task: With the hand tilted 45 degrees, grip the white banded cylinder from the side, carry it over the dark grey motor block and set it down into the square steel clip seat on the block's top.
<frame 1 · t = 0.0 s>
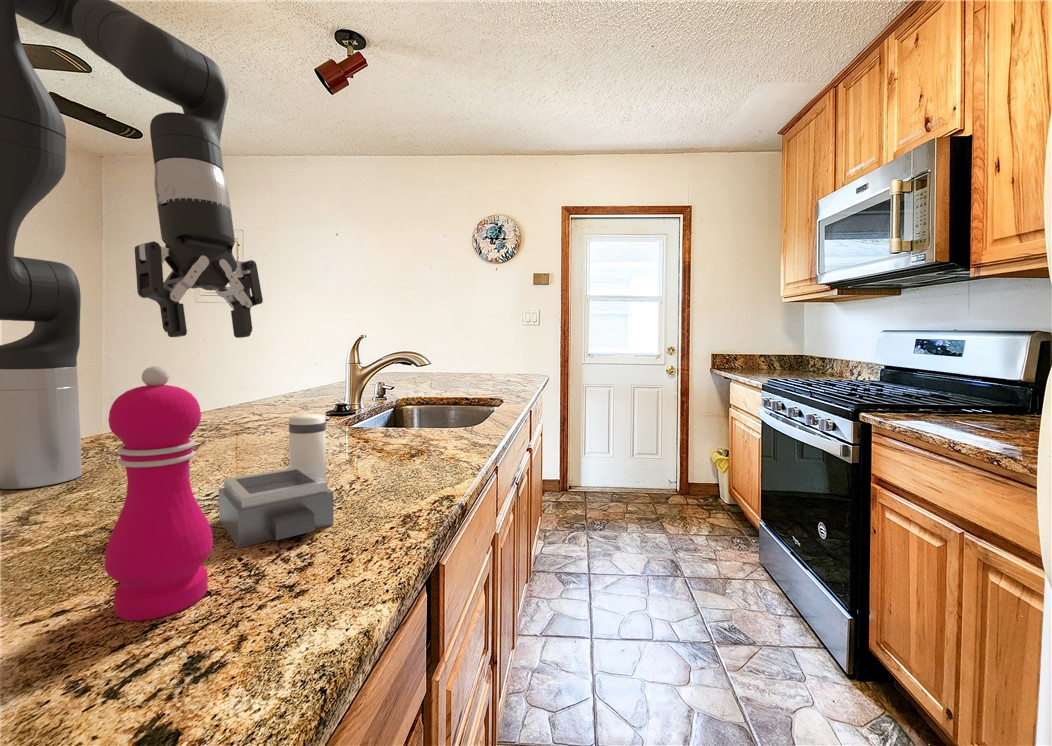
hand: (212, 336, 58), 22 cm above the countertop, tool pointing down, fingers open, 8 cm apart
toothbrush head: (171, 507, 63), on the countertop
white banded cylinder: (308, 490, 69), on the countertop
motor block: (276, 522, 57), on the countertop
pepper mill: (163, 602, 40), on the countertop
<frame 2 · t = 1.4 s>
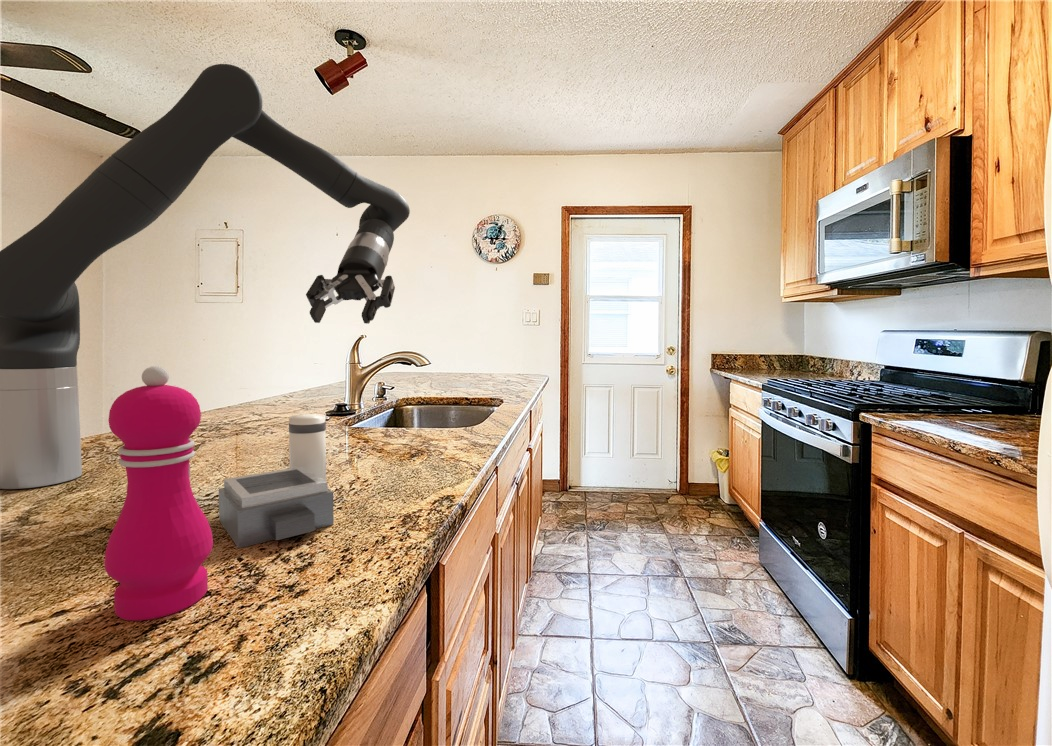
hand: (340, 319, 78), 26 cm above the countertop, tool tilted 45°, fingers open, 8 cm apart
nothing on the countertop moved.
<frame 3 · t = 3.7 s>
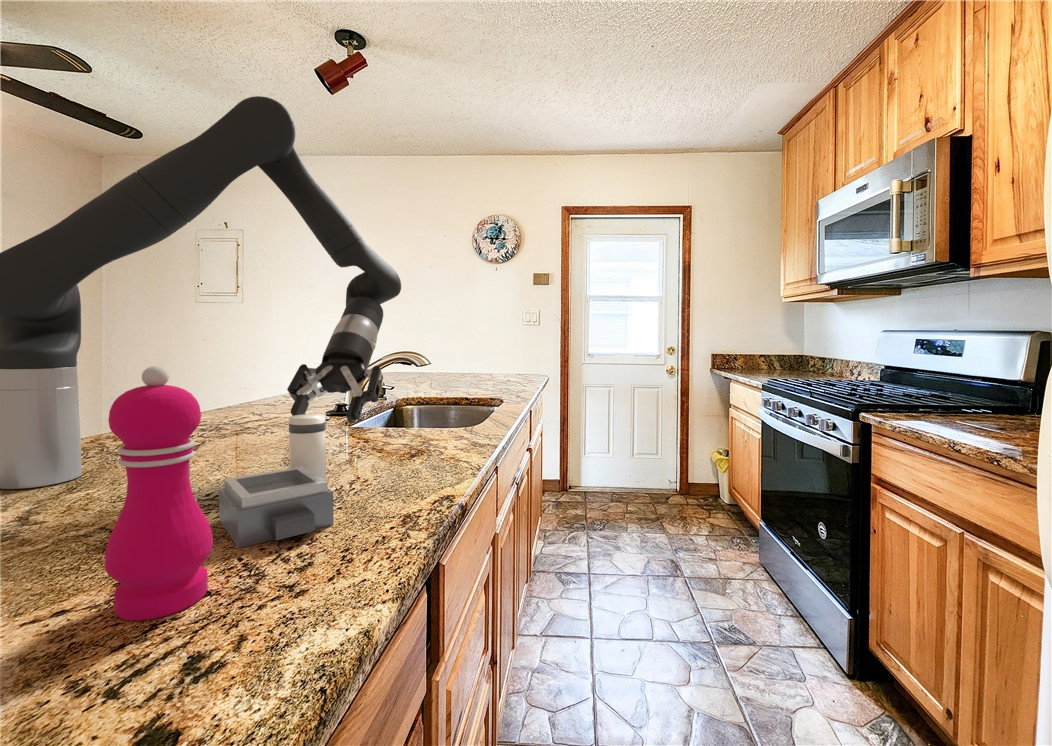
hand: (323, 419, 73), 10 cm above the countertop, tool tilted 45°, fingers open, 8 cm apart
nothing on the countertop moved.
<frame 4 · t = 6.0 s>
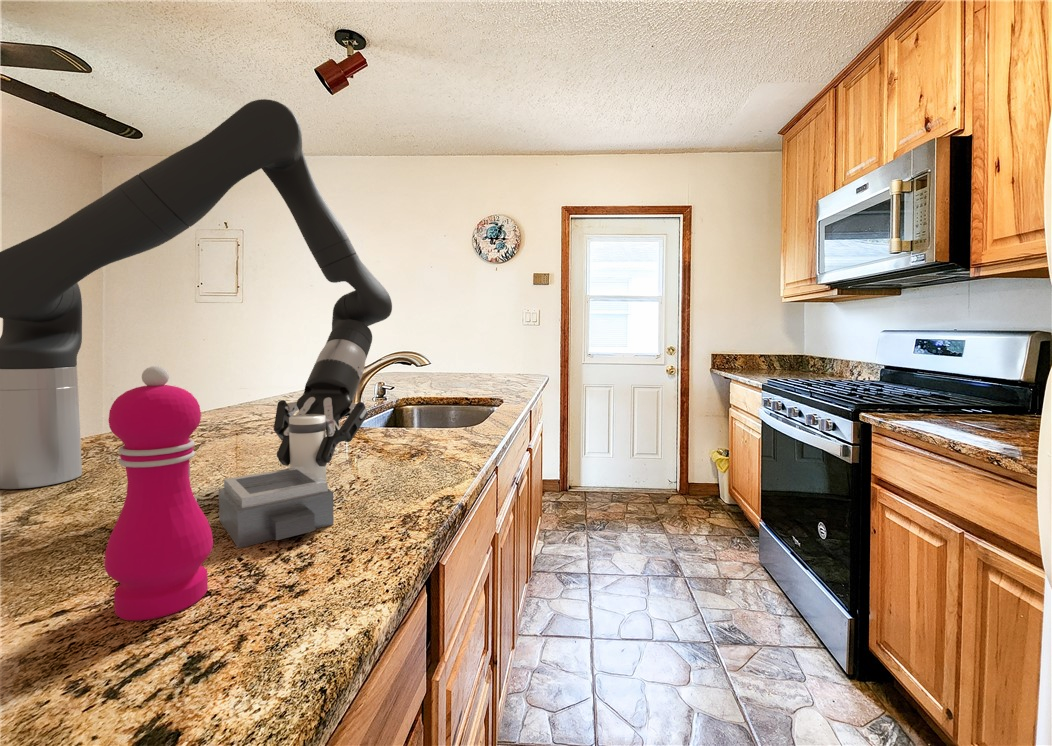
hand: (301, 462, 67), 5 cm above the countertop, tool tilted 45°, fingers closed on white banded cylinder, 4 cm apart
white banded cylinder: (308, 490, 69), on the countertop, touching gripper
everything else where it was.
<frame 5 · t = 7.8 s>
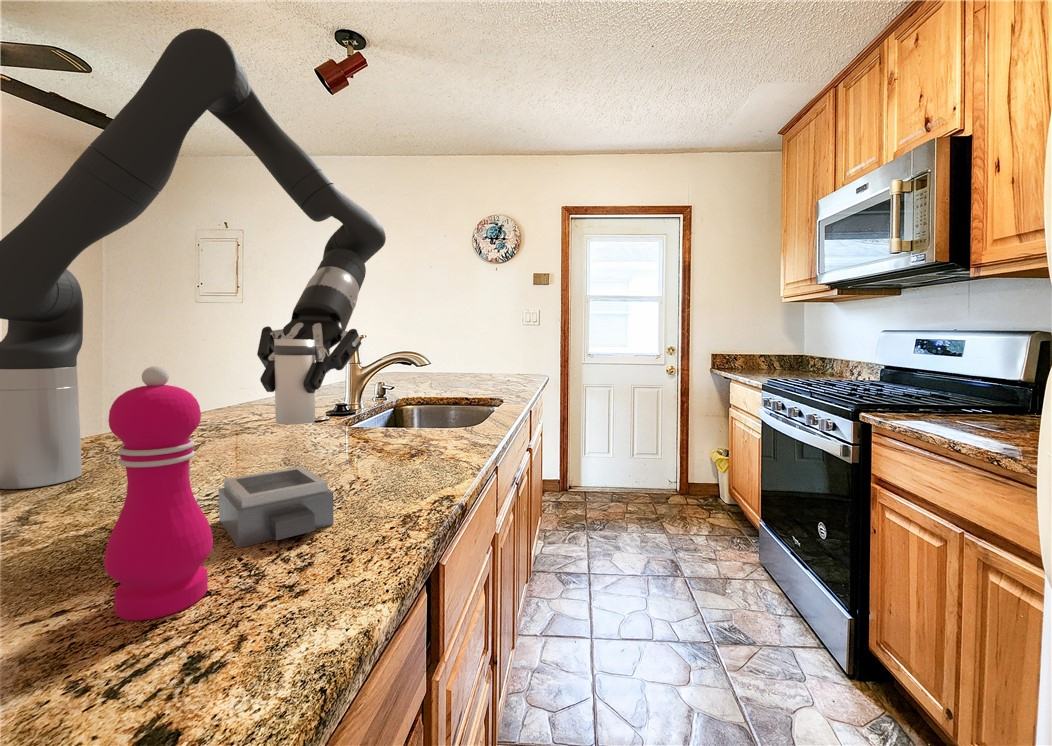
hand: (288, 388, 61), 16 cm above the countertop, tool tilted 45°, fingers closed on white banded cylinder, 4 cm apart
white banded cylinder: (295, 421, 63), point 11 cm above the countertop, touching gripper
everything else where it was.
when the fingers open (9 cm above the countertop, at t = 9.9 s): white banded cylinder stays where it is, resting on motor block.
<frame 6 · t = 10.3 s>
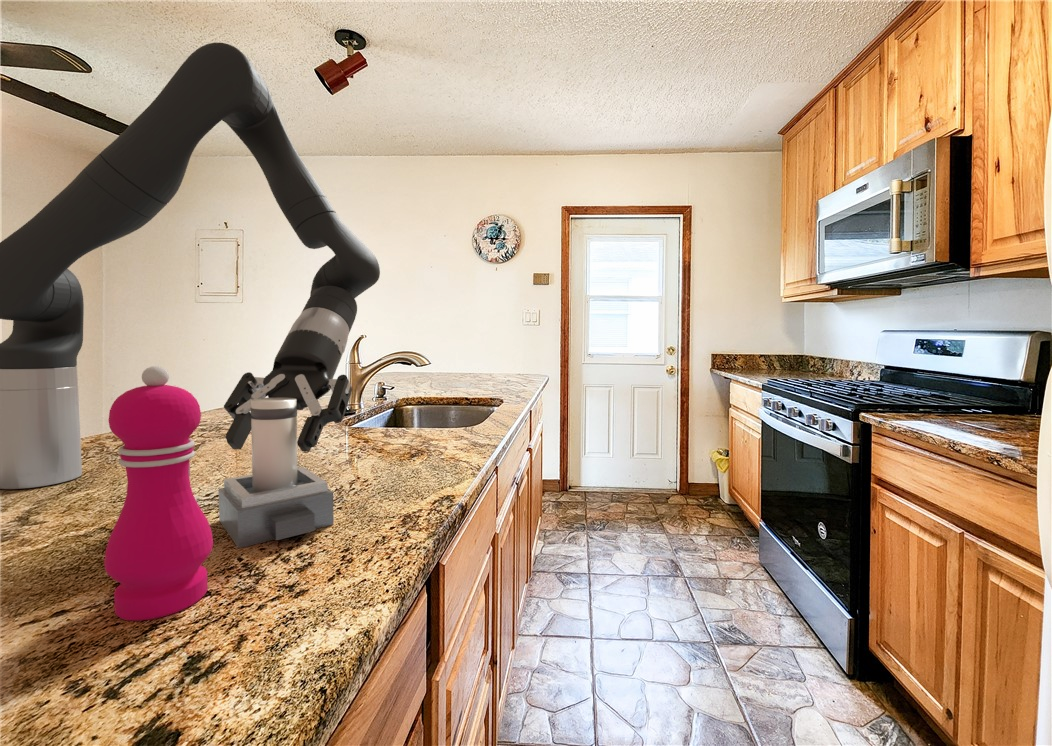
hand: (268, 447, 55), 10 cm above the countertop, tool tilted 45°, fingers open, 8 cm apart
white banded cylinder: (275, 490, 57), point 4 cm above the countertop, touching motor block
everything else where it was.
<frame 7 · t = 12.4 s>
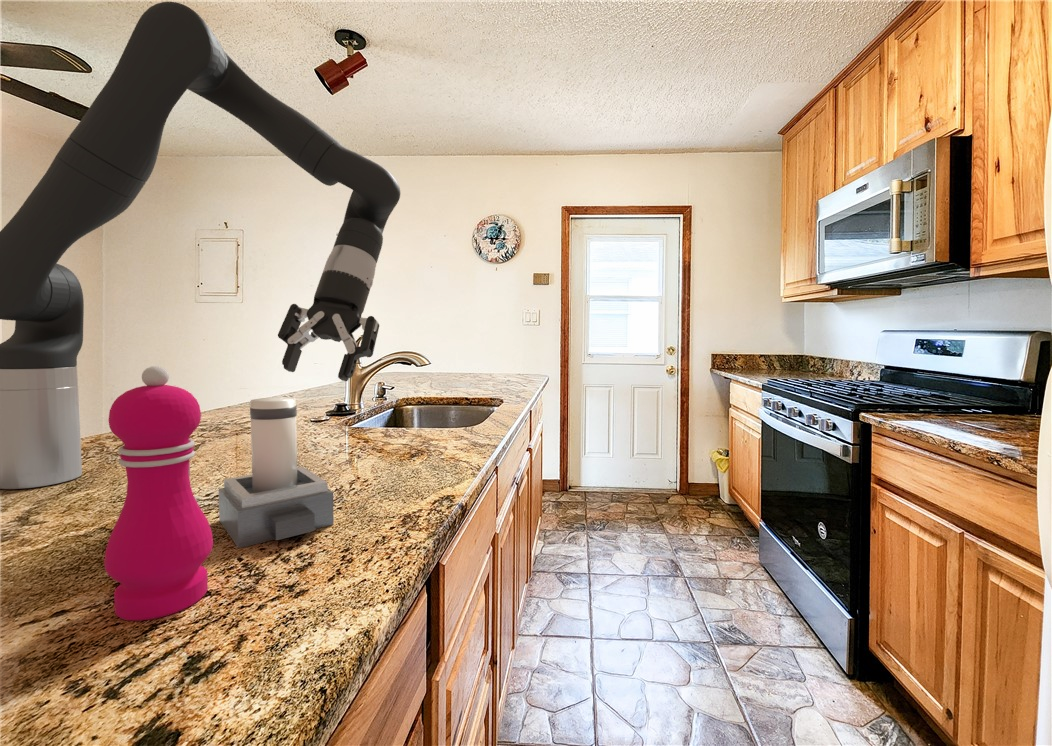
hand: (315, 375, 71), 17 cm above the countertop, tool tilted 25°, fingers open, 8 cm apart
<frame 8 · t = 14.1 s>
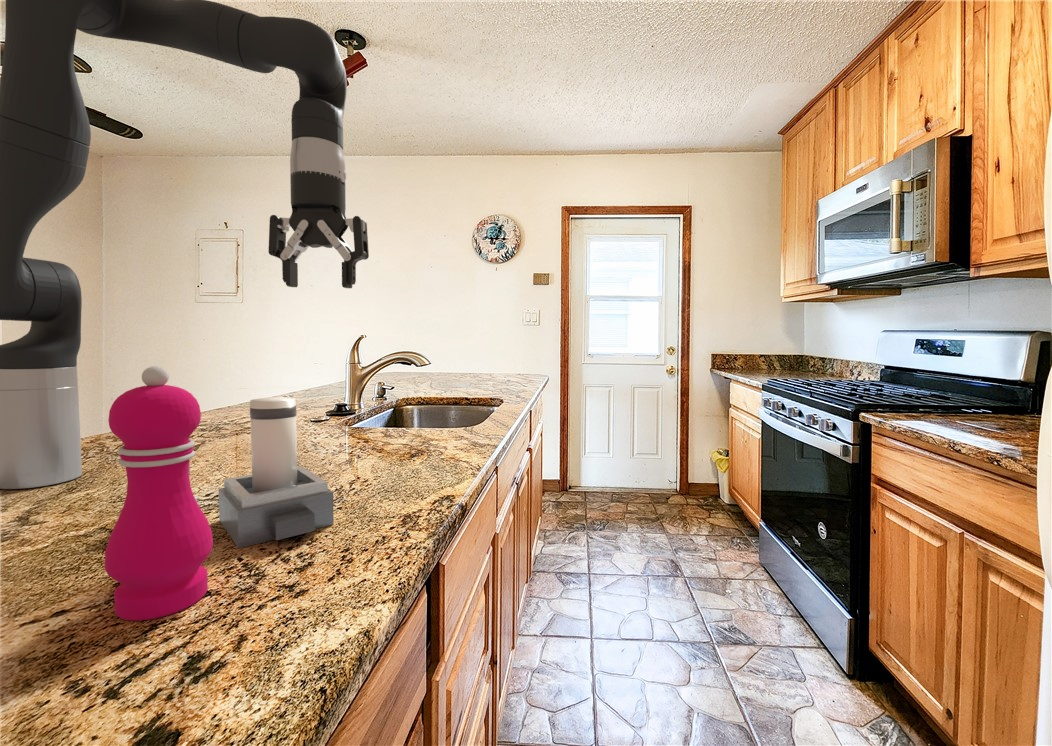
hand: (319, 287, 71), 30 cm above the countertop, tool pointing down, fingers open, 8 cm apart
at the end: white banded cylinder 0.1 cm off-centre on the motor block, point 4.0 cm above the motor block's base; white banded cylinder tilted 1°; the gripper is holding nothing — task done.
